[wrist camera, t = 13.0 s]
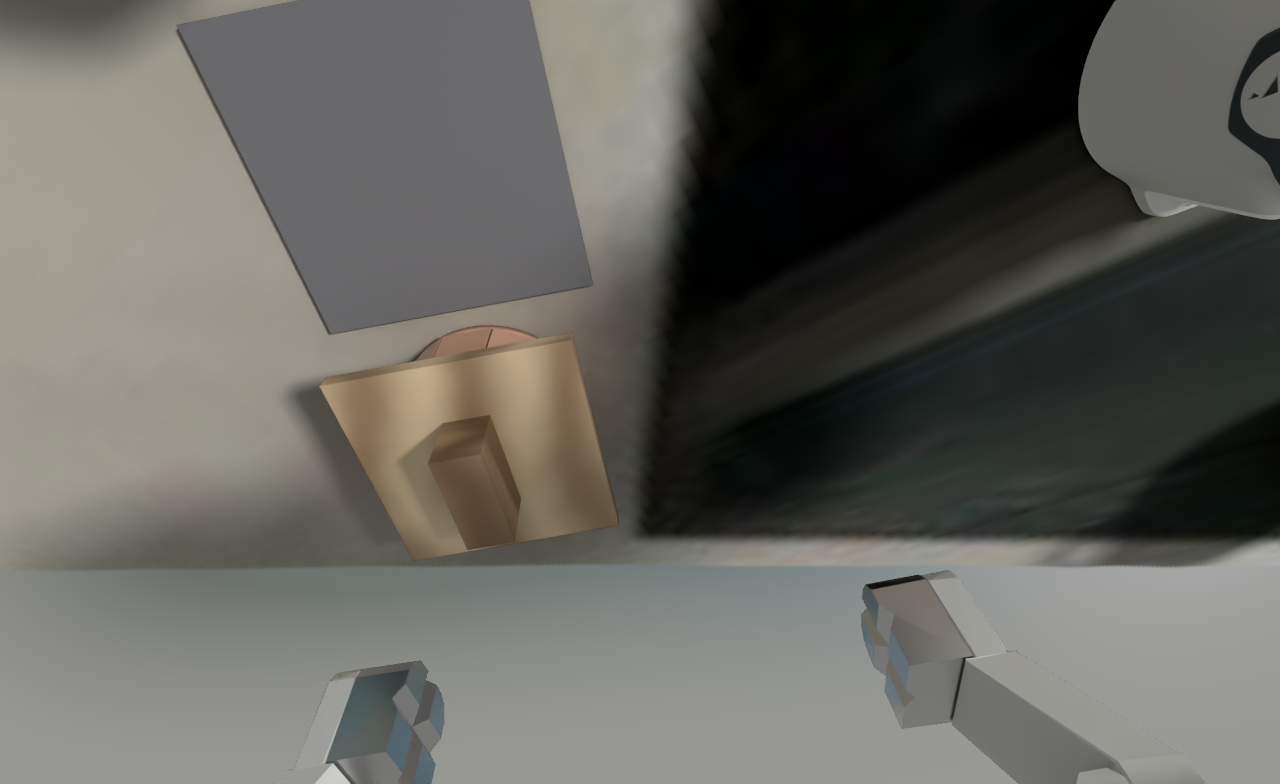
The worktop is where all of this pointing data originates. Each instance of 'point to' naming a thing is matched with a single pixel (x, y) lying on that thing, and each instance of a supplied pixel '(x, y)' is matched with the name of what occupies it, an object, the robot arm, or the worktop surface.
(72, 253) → the worktop surface
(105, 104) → the worktop surface
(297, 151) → the mat
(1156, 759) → the robot arm
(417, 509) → the lid
